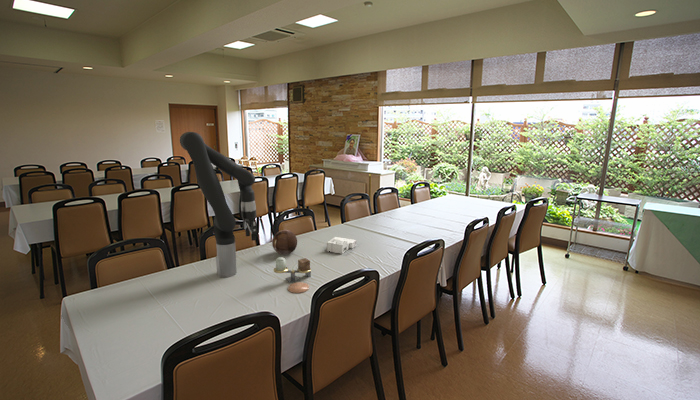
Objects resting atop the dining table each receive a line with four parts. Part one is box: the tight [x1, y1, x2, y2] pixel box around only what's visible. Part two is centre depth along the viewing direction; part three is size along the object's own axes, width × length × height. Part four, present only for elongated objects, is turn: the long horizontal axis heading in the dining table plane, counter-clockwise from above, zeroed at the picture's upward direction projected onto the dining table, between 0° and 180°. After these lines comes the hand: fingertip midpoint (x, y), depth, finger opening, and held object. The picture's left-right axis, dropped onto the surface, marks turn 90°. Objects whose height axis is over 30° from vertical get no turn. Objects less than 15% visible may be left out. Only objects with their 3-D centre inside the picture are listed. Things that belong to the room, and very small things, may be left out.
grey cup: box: [275, 256, 287, 271], centre depth 170 cm, size 5×5×6 cm
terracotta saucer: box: [287, 281, 310, 294], centre depth 167 cm, size 10×10×1 cm
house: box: [326, 236, 357, 255], centre depth 222 cm, size 22×18×6 cm
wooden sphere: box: [271, 229, 298, 256], centre depth 211 cm, size 15×15×15 cm
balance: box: [273, 266, 312, 284], centre depth 175 cm, size 20×7×7 cm, turn 126°
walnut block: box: [297, 258, 311, 272], centre depth 179 cm, size 4×4×5 cm
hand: (250, 238), depth 186 cm, fingers open, 8 cm apart
